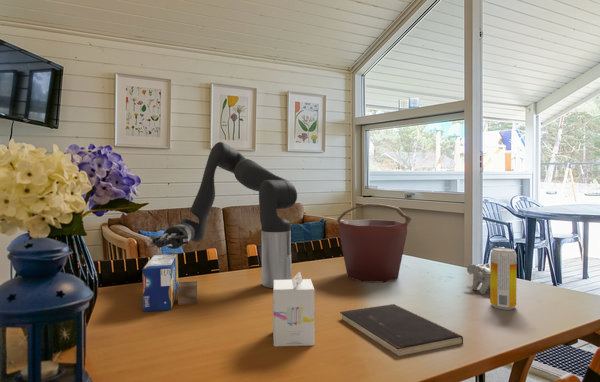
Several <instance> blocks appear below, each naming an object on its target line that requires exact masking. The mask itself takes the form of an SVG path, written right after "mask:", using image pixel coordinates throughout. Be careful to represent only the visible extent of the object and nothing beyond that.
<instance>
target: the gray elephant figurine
mask: <svg viewBox="0 0 600 382" xmlns="http://www.w3.org/2000/svg"><path fill="white" fill-rule="evenodd" d="M466 271H467V273H468V275H473V276H472V278H473V279H472V285H471V286H470V287H471V288H470V289H471V290H473V291H477V290H478V288H479V287H480V288H479V294H481V295H485V294H486V290H487V289H488V290H490V276H491V265H490V264H489V263H484V264H483V263H478V264H473V263H471V264H469V265H468V266H467V268H466ZM480 285H481V286H480Z"/></svg>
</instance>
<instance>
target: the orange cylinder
mask: <svg viewBox="0 0 600 382" xmlns="http://www.w3.org/2000/svg"><path fill="white" fill-rule="evenodd" d="M517 257H518V255H517V252H516V250H515V249H513V248H508V247H494V248H493V247H492V249H491V251H490V268H491V276H490V289H489V290H490V293H489V294H490V296H489V297H490V298H489V299H490V300H489V301H490V302H489V303H490V304H491V305H492V307H493V308H495V309H499V310H505V311H506V310H509V311H511V310H514V309H515V307H516V306H517V278H518V277H517V274H518V273H517V267H518V266H517V264H518V262H517V259H518V258H517Z"/></svg>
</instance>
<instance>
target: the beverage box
mask: <svg viewBox="0 0 600 382" xmlns="http://www.w3.org/2000/svg"><path fill="white" fill-rule="evenodd" d="M178 257H179V256H178V252H170V253H169V252H168V253H154V254H153V255H152V256H151V258H150V259H149V260H148V261H147V262H146V264H145V265H144V266H143V268H141V270H142V272H141V273H142V310H143V311H142V312H157V311H160V312H161V311H169V310H172V309H173V306H174V302H175V299H176V296H177V294H178V283H179V259H178Z"/></svg>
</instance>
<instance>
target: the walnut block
mask: <svg viewBox="0 0 600 382" xmlns="http://www.w3.org/2000/svg"><path fill="white" fill-rule="evenodd" d="M193 304H194V305H195V304H198V280H194V281H193V280H191V281H178V290H177V305H178V306H182V305H193Z"/></svg>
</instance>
